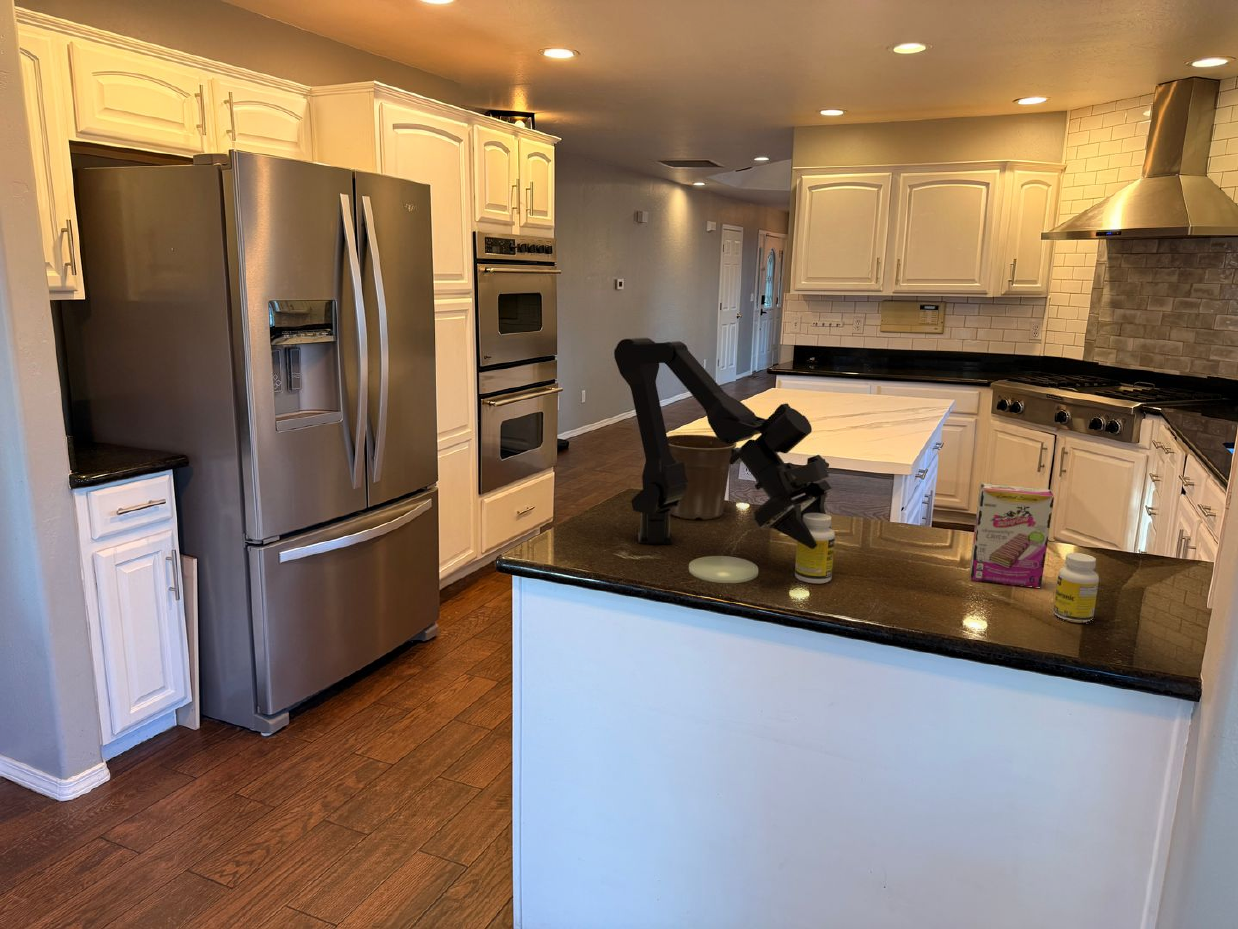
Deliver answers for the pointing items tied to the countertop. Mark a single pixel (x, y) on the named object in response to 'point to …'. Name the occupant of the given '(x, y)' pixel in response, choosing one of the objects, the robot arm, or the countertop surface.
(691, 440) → the plant pot
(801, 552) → the pill bottle
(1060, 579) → the supplement bottle
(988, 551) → the candy bar box
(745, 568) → the disc
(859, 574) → the countertop surface
